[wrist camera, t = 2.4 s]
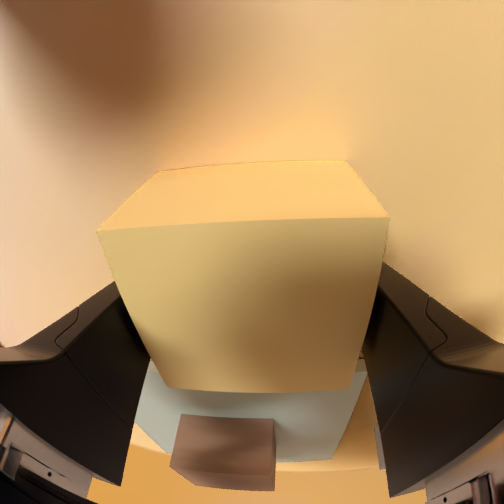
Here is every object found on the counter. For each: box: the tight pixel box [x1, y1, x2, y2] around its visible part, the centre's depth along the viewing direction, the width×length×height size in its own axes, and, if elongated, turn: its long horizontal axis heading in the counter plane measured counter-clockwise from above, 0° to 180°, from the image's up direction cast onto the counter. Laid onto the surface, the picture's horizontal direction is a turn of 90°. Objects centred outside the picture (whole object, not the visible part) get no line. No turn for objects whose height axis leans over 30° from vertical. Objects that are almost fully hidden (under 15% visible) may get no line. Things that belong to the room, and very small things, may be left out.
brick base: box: [170, 414, 276, 491], centre depth 16 cm, size 6×6×4 cm
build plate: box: [134, 359, 368, 462], centre depth 18 cm, size 16×16×1 cm
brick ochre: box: [96, 160, 390, 393], centre depth 9 cm, size 6×6×4 cm
